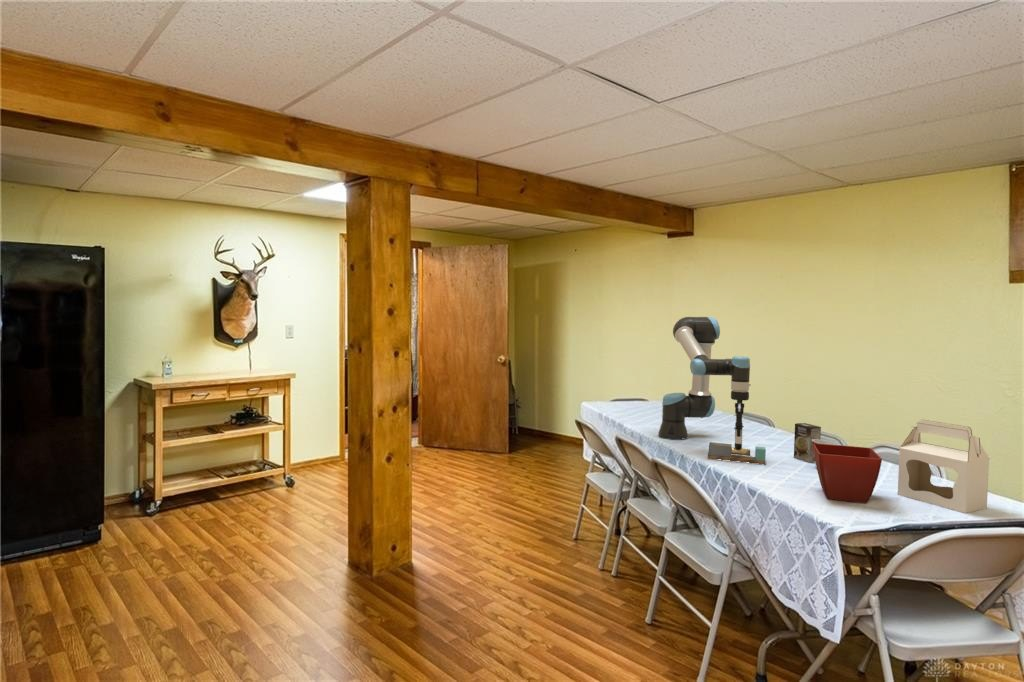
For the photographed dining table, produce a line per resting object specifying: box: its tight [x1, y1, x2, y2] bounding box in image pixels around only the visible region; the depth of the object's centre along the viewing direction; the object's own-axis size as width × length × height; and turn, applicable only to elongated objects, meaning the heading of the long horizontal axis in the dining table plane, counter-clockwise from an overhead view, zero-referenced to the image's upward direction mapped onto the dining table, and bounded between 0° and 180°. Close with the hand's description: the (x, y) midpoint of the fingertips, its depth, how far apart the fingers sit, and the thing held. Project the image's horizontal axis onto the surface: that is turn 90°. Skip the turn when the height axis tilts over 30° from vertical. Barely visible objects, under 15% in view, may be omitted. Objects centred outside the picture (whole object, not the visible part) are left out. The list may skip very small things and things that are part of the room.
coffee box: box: [793, 422, 822, 463], centre depth 255 cm, size 9×6×16 cm
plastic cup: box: [812, 439, 841, 448], centre depth 240 cm, size 11×11×12 cm
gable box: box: [897, 419, 990, 514], centre depth 199 cm, size 22×13×28 cm, turn 25°
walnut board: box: [706, 451, 766, 465], centre depth 254 cm, size 24×7×2 cm, turn 68°
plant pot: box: [813, 444, 883, 504], centre depth 203 cm, size 19×19×17 cm
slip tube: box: [731, 421, 751, 456], centre depth 254 cm, size 14×3×14 cm, turn 68°
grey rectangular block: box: [708, 441, 733, 457], centre depth 256 cm, size 10×5×5 cm, turn 68°
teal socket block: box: [754, 445, 767, 462], centre depth 250 cm, size 4×5×5 cm
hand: (738, 442), depth 253 cm, fingers closed on slip tube, 3 cm apart
